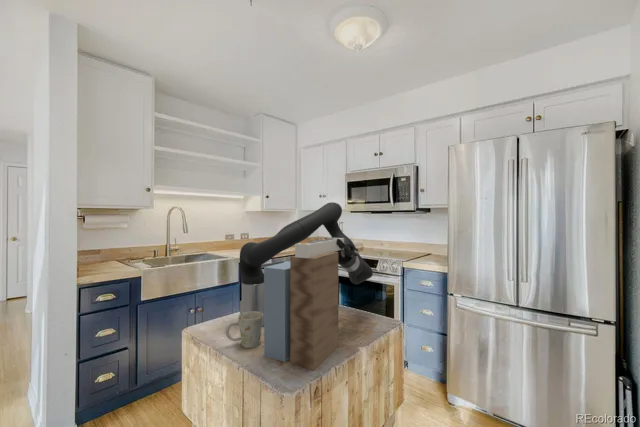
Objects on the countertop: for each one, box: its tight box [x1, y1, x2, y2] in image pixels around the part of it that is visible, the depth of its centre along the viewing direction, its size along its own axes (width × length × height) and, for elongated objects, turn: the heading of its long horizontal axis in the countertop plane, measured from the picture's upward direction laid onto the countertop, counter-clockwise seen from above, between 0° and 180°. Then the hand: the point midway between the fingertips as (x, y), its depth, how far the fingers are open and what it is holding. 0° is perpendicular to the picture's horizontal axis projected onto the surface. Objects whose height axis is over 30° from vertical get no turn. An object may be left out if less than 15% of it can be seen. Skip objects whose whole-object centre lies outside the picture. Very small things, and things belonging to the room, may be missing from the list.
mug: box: [224, 311, 263, 349], centre depth 100 cm, size 8×13×10 cm, turn 107°
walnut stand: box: [289, 252, 340, 371], centre depth 93 cm, size 8×17×32 cm, turn 152°
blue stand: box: [263, 260, 290, 363], centre depth 98 cm, size 8×17×28 cm, turn 152°
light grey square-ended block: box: [294, 237, 344, 258], centre depth 97 cm, size 4×26×4 cm, turn 152°
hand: (331, 240), depth 103 cm, fingers closed on light grey square-ended block, 4 cm apart
